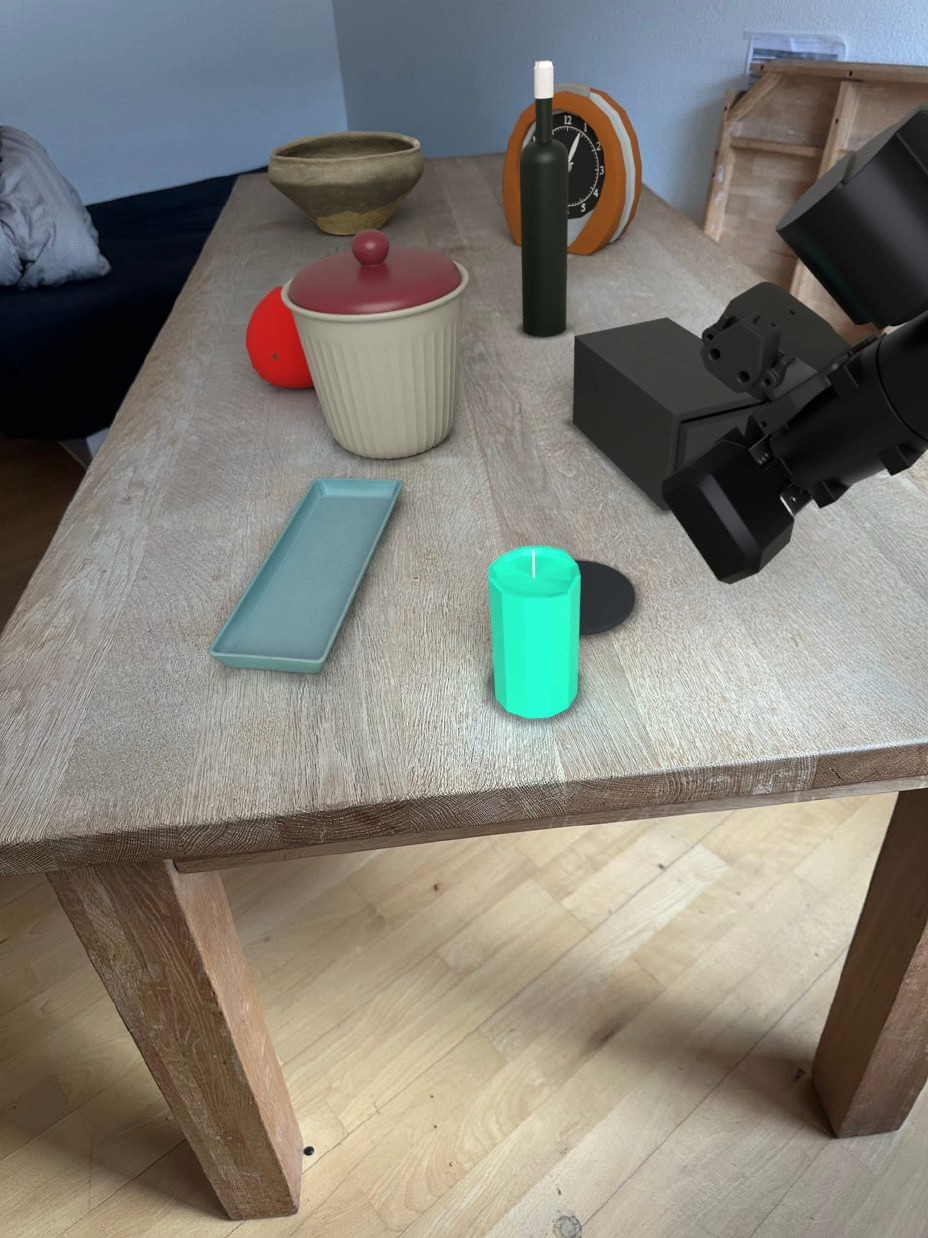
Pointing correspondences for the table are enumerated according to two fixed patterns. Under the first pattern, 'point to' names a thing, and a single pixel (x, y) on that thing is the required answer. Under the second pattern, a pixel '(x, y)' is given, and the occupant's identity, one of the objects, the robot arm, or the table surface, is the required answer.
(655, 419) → the cabinet
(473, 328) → the table surface
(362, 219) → the bowl
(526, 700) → the candle
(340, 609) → the rectangular tray
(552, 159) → the wine bottle
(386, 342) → the canister
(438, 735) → the table surface
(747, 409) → the drawer
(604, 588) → the coaster
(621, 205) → the alarm clock
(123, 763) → the table surface
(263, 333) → the tomato
